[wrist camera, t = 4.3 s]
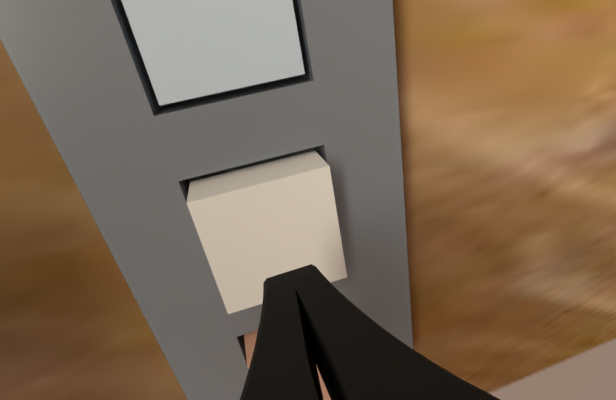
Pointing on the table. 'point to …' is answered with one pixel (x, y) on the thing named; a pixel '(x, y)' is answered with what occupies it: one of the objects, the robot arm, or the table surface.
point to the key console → (220, 162)
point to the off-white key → (267, 225)
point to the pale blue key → (214, 44)
